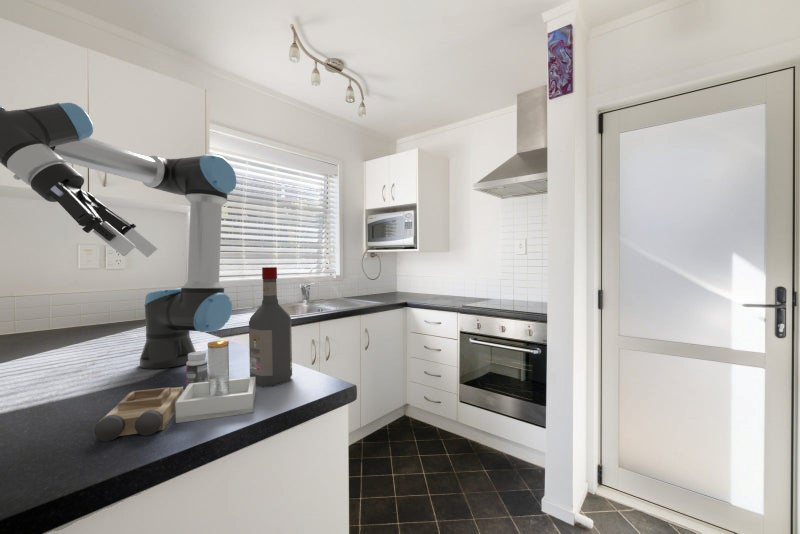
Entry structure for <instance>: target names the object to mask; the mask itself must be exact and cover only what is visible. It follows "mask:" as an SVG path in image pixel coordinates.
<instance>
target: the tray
mask: <svg viewBox="0 0 800 534" xmlns="http://www.w3.org/2000/svg"><path fill="white" fill-rule="evenodd" d="M256 387H257V385H256V380H255V377H250V376H249V377H247V376H246V377H241V378H240V377H239V378H229V395H223V396H214V397H209V381H208V382H200V383H190V384H188V386H187V385H186V387H185V389H183V393H182V394H181V396H180V397H179V398H178V400H177V401H176V403H175V408H176V412H175V424H180V423H186V422H194V421H200V420H207V419H208V420H209V419H216V418H223V417H231V416H239V415H245V414H252V413H254V407H255V401H256V394H257V393H256V392H257V390H256V389H257V388H256Z"/></svg>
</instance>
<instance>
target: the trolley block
mask: <svg viewBox="0 0 800 534" xmlns="http://www.w3.org/2000/svg"><path fill="white" fill-rule="evenodd" d="M183 391H184V386H179V387H171V386H170V387H168V386H167V387H161V388H152V389H151V388H150V389H141V390H133V391H132V390H131V392H129V393H128V394H127V395H126V396H125V397H124V398H123V399H121V400H120V401H119V402H118V403H117V405H116V406H114V408H112V409H111V410H110V411H109V412H108V413H107V414H105V415H104V416H103V417H102V418H101V419H100V420H99V421H98V422H97V424H96V425H95V427H94V430H93V435H94V436H95V437H96V438H97V439H98V440H99V441H103V442H110V441H113V440H115V439H117V438H118V437H121V436H129V435H130V436H131V435H136V434H139V435H141V436H150V435H153V434H155V433H157V432H158V431H163V430H165V428H166V426H167V425H168V424H169V422H170V420H171V419H172V417H174V415H175V414H176V408H175V403H176V401H177V400H178V398H179V397H180V396H181V394H182V393H183Z"/></svg>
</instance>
